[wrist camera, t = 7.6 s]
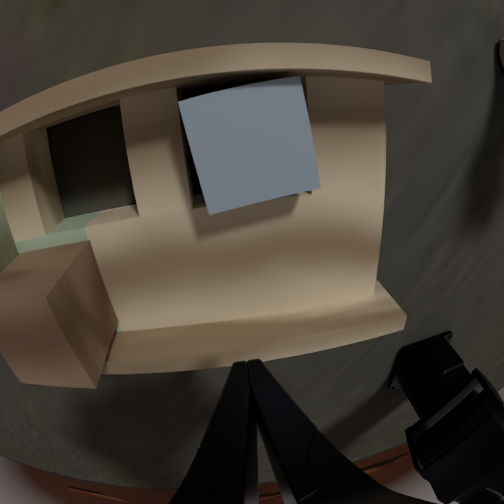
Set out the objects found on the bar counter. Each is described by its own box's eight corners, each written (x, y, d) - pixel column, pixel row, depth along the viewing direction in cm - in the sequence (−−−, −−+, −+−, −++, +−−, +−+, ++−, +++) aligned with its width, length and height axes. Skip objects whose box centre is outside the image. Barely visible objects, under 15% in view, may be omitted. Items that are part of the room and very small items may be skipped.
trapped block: (292, 167, 15) (320, 187, 11) (210, 187, 15) (209, 215, 11) (275, 86, 13) (299, 75, 9) (188, 106, 13) (177, 101, 9)
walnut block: (118, 320, 15) (96, 388, 11) (51, 324, 15) (21, 382, 10) (89, 240, 13) (45, 297, 8) (19, 253, 13) (-28, 303, 8)
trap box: (368, 284, 19) (403, 329, 15) (63, 323, 18) (38, 372, 13) (374, 69, 13) (429, 61, 9) (2, 130, 11) (-52, 144, 7)
